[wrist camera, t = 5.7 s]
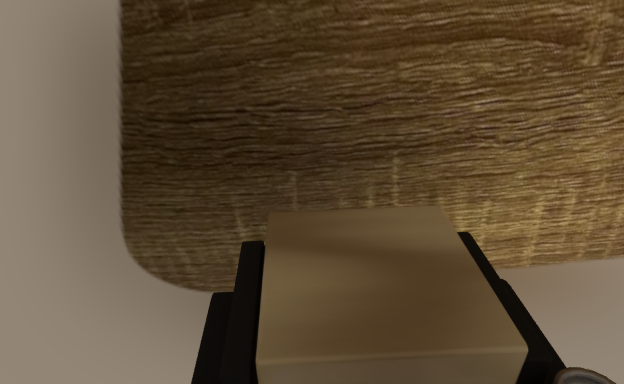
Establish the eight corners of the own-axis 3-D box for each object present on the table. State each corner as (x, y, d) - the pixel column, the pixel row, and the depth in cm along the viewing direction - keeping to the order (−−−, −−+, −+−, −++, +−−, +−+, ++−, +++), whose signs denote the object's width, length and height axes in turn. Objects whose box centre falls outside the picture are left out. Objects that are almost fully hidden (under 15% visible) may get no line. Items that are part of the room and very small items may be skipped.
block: (278, 331, 12) (273, 499, 8) (267, 210, 10) (254, 363, 6) (419, 324, 12) (478, 485, 8) (440, 203, 10) (532, 348, 6)
